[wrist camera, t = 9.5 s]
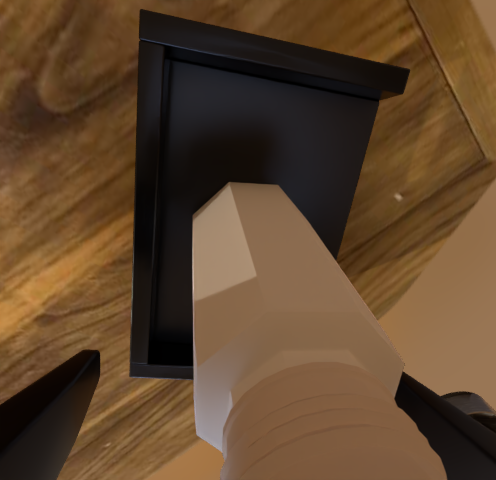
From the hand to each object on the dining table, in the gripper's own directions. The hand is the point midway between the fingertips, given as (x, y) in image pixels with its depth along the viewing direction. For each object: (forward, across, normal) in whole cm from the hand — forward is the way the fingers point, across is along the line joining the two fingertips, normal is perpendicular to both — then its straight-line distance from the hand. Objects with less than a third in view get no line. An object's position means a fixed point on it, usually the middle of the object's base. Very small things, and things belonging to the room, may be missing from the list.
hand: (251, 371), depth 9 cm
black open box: (+11, 0, -3) cm, 11 cm away
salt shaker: (+5, 0, -3) cm, 6 cm away
